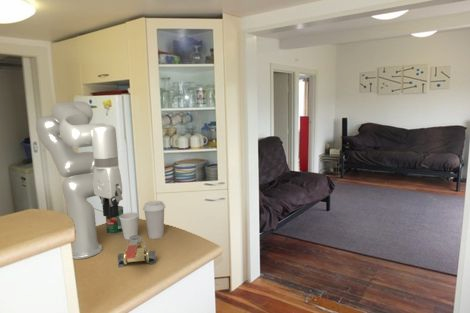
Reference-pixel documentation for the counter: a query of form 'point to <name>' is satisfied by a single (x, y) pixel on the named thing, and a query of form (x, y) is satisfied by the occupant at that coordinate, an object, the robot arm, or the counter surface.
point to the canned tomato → (114, 223)
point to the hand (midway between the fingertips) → (111, 215)
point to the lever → (133, 246)
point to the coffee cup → (154, 218)
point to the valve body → (138, 256)
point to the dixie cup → (129, 224)
